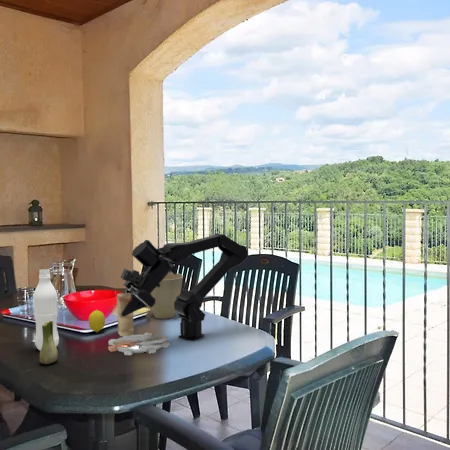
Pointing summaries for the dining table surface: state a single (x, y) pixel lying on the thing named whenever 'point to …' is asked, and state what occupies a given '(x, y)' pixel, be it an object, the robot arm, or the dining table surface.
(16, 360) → the dining table surface
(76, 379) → the dining table surface
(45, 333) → the fennel bulb
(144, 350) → the sprocket plate
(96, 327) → the lemon
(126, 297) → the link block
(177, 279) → the plant pot
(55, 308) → the water bottle
